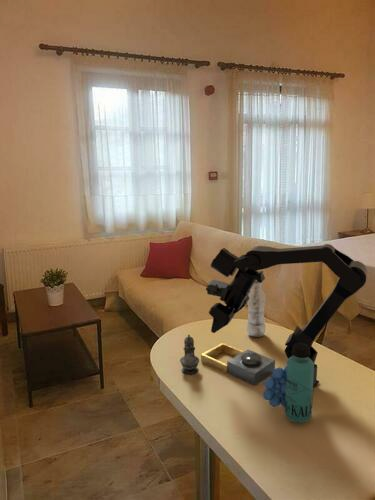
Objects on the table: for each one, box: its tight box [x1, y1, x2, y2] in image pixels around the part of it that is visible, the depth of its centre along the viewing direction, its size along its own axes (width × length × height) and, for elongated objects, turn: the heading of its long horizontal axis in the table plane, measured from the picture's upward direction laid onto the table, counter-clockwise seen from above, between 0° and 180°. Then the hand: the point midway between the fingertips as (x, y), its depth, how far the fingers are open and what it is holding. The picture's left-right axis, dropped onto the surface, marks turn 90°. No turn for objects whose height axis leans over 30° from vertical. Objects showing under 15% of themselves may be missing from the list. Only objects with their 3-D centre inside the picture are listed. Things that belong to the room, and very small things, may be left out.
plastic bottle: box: [246, 280, 267, 338], centre depth 139 cm, size 6×7×20 cm
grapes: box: [262, 364, 287, 408], centre depth 101 cm, size 12×7×12 cm, turn 96°
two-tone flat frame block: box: [200, 342, 276, 387], centre depth 120 cm, size 21×11×5 cm, turn 44°
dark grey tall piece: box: [179, 334, 200, 376], centre depth 118 cm, size 6×6×12 cm
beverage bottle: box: [283, 343, 314, 423], centre depth 94 cm, size 6×7×20 cm
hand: (218, 326), depth 119 cm, fingers open, 9 cm apart
